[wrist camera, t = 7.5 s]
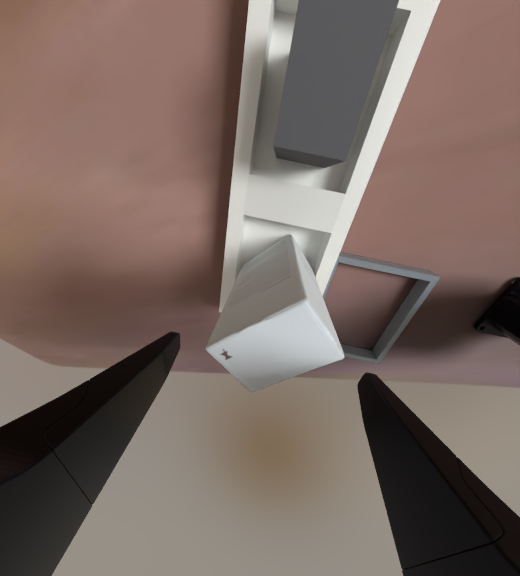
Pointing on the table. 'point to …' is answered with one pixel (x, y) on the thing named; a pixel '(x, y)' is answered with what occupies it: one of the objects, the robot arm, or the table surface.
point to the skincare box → (274, 320)
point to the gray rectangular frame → (404, 312)
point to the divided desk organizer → (297, 176)
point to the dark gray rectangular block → (329, 77)
